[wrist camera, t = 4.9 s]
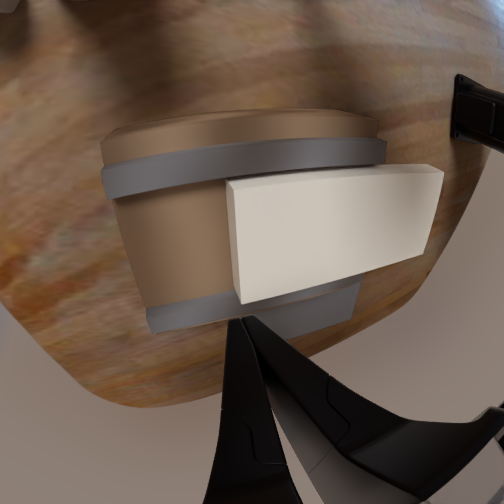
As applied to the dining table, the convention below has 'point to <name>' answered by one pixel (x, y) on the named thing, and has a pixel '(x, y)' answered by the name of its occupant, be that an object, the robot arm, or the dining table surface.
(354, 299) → the mat
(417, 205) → the cover plate
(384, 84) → the dining table surface
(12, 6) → the lighter
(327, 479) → the robot arm
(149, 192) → the lid box
